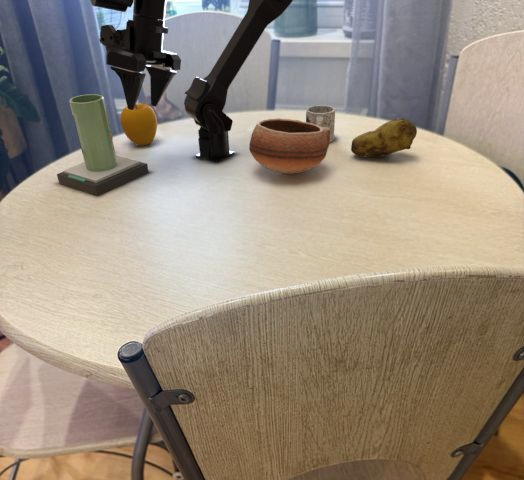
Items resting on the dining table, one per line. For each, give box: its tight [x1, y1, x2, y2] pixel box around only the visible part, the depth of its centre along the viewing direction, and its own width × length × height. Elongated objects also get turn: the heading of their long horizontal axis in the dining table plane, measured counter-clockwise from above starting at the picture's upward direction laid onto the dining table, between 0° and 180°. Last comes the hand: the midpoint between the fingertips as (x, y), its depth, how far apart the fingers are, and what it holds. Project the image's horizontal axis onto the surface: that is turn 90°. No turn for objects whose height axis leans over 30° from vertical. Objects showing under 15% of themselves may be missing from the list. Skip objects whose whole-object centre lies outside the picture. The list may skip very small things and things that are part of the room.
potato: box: [350, 118, 418, 158], centre depth 113 cm, size 8×13×8 cm, turn 63°
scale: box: [56, 154, 150, 197], centre depth 111 cm, size 14×12×3 cm
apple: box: [119, 103, 158, 147], centre depth 125 cm, size 8×8×9 cm
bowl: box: [248, 118, 331, 174], centre depth 108 cm, size 16×16×10 cm
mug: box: [305, 104, 336, 143], centre depth 122 cm, size 10×7×7 cm, turn 172°
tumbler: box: [69, 93, 117, 172], centre depth 106 cm, size 6×6×13 cm
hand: (142, 107), depth 106 cm, fingers open, 9 cm apart
